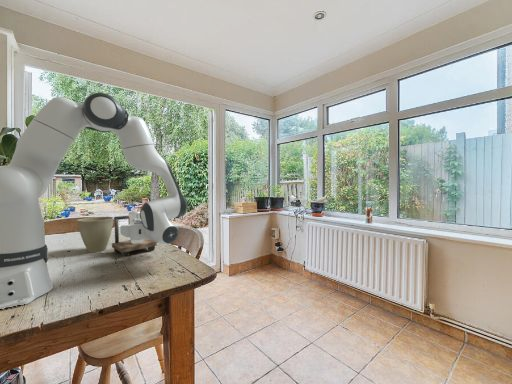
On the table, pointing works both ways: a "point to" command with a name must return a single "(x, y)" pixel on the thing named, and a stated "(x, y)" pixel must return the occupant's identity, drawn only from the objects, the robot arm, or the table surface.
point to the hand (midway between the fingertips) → (139, 225)
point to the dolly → (125, 245)
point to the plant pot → (95, 232)
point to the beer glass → (133, 218)
